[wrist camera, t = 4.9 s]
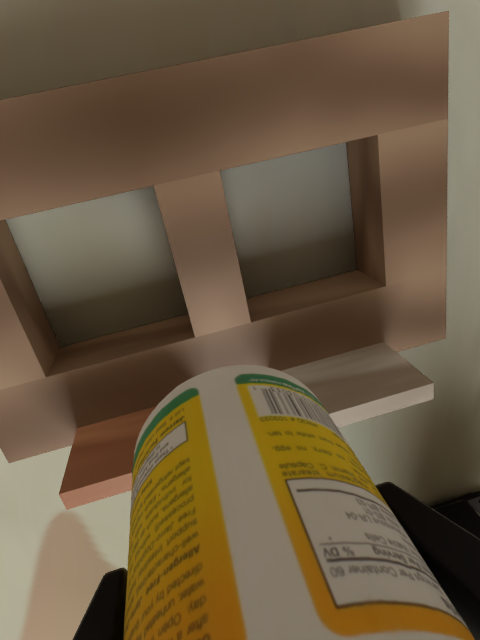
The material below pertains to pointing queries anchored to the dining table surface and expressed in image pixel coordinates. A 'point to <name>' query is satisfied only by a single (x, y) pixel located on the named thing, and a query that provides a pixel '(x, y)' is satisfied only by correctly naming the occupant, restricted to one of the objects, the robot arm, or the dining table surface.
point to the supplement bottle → (267, 525)
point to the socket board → (231, 236)
